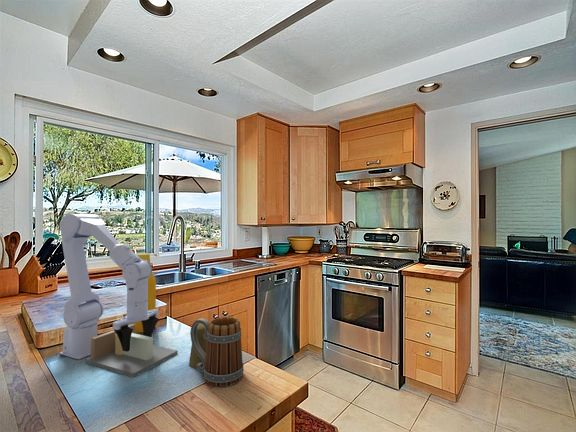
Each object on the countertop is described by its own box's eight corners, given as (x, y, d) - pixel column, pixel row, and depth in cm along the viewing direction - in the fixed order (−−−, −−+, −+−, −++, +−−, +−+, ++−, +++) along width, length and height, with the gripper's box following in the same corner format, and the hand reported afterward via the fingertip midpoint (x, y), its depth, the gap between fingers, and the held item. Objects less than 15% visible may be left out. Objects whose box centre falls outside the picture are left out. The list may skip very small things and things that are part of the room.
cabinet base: (85, 362, 90) (86, 338, 90) (133, 343, 104) (133, 322, 105) (133, 377, 82) (133, 351, 82) (177, 353, 96) (177, 331, 96)
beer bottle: (159, 328, 118) (160, 254, 119) (135, 335, 111) (136, 256, 112) (149, 323, 124) (150, 252, 125) (125, 329, 118) (126, 254, 118)
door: (112, 353, 94) (112, 333, 94) (124, 348, 98) (124, 329, 98) (144, 362, 88) (144, 341, 88) (155, 356, 92) (156, 336, 92)
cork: (204, 368, 86) (204, 330, 87) (184, 366, 88) (185, 328, 88) (213, 359, 92) (213, 323, 93) (195, 357, 94) (195, 321, 94)
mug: (250, 371, 85) (250, 317, 85) (231, 391, 75) (231, 330, 75) (202, 362, 90) (203, 311, 90) (179, 380, 80) (179, 323, 81)
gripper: (125, 308, 84) (124, 358, 84) (165, 297, 98) (165, 339, 97) (108, 305, 87) (107, 353, 87) (149, 294, 101) (149, 336, 100)
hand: (136, 346), depth 92 cm, fingers open, 7 cm apart
